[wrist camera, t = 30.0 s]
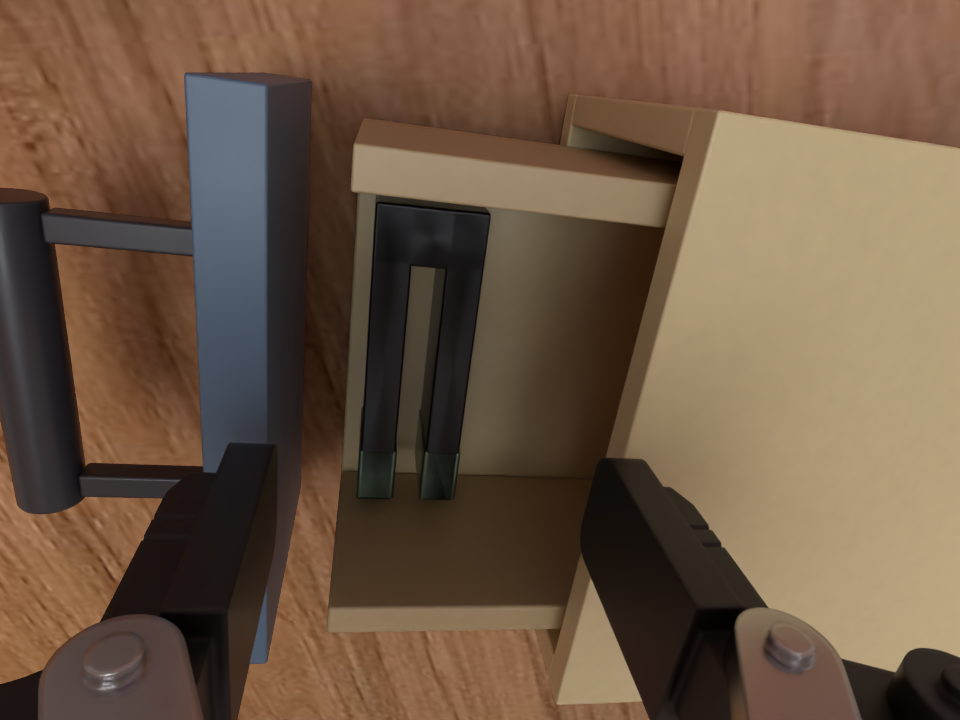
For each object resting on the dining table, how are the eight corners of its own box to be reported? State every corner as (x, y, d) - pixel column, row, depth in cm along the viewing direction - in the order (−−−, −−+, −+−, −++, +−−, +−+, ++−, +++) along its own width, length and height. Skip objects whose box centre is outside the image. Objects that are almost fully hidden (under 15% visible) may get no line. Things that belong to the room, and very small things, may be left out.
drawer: (105, 482, 19) (-22, 672, 13) (50, 41, 14) (-194, 17, 8) (696, 498, 23) (809, 650, 17) (812, 153, 18) (1032, 194, 12)
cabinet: (496, 491, 23) (555, 706, 15) (568, 93, 17) (719, 109, 10) (881, 501, 26) (1094, 683, 18) (1045, 167, 20) (1447, 224, 13)
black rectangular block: (446, 453, 19) (454, 501, 17) (358, 450, 19) (355, 499, 17) (478, 195, 16) (494, 213, 14) (374, 183, 16) (374, 201, 14)
